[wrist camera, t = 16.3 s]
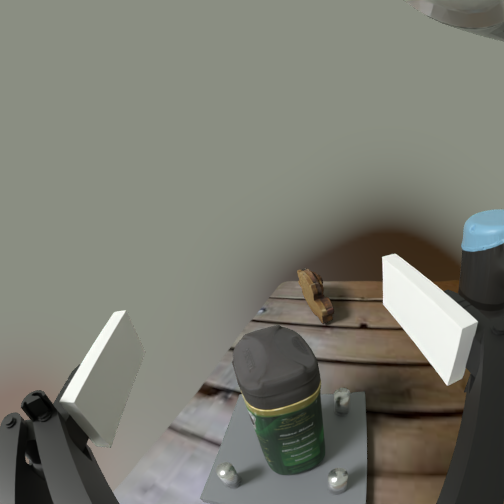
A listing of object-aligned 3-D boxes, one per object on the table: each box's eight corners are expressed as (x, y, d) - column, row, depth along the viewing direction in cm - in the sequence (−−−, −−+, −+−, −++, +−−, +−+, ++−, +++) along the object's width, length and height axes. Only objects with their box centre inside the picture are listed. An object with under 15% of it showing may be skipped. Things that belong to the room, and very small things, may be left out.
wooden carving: (343, 324, 59) (340, 283, 56) (323, 332, 58) (319, 290, 55) (311, 293, 74) (306, 257, 71) (295, 299, 73) (289, 263, 70)
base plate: (241, 400, 45) (234, 377, 43) (364, 397, 39) (365, 373, 38) (203, 501, 27) (188, 486, 25) (364, 513, 22) (369, 499, 20)
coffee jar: (334, 462, 29) (331, 363, 23) (274, 484, 28) (238, 394, 22) (308, 414, 38) (292, 310, 32) (256, 431, 37) (221, 332, 31)
